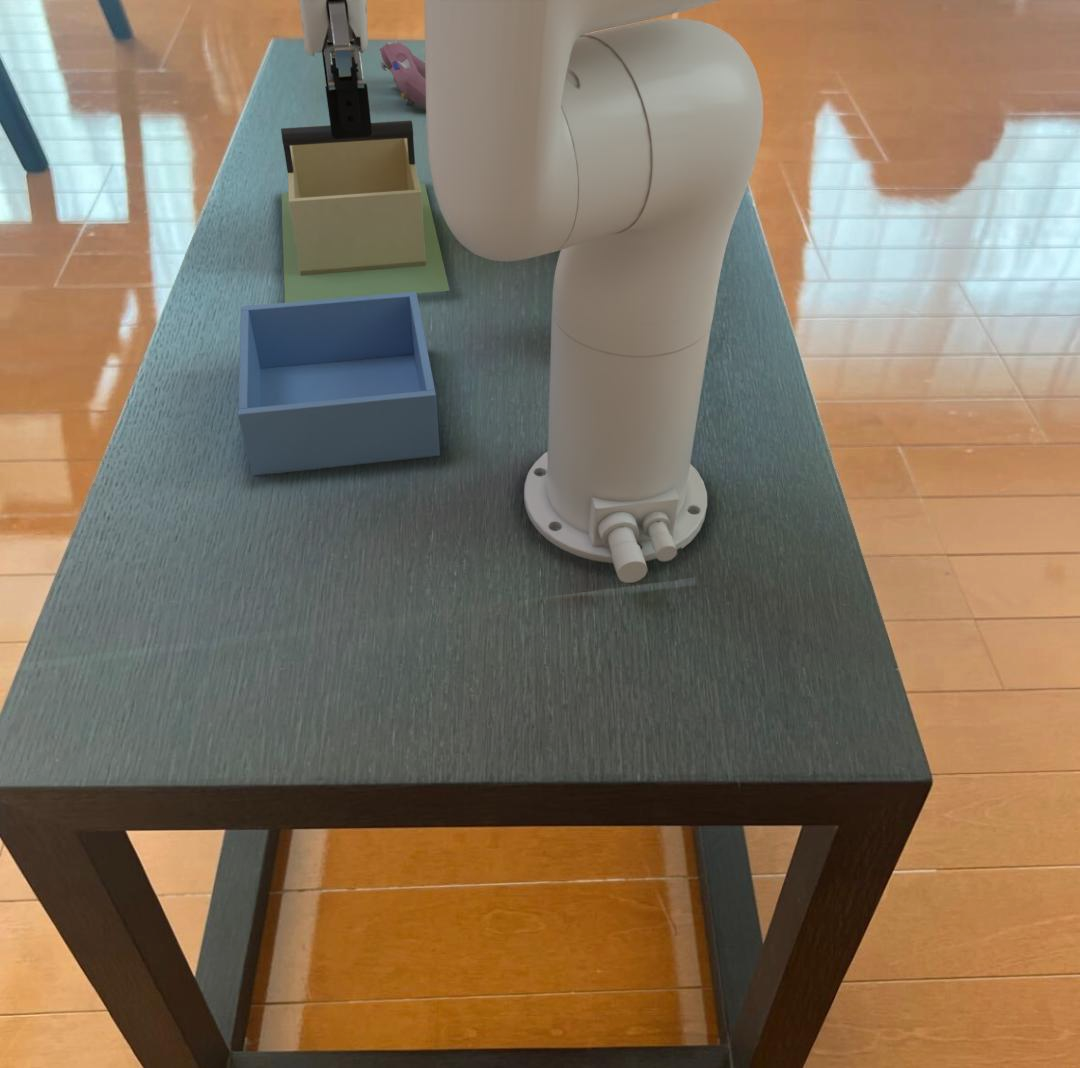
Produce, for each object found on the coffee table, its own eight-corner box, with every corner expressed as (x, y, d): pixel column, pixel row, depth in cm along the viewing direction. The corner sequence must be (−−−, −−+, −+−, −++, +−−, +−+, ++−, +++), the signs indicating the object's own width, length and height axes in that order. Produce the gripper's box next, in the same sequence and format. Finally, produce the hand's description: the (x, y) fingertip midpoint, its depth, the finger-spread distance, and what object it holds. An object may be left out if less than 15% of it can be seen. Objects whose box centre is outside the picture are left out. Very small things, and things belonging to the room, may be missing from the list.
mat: (450, 296, 93) (449, 290, 92) (285, 310, 91) (284, 304, 90) (425, 188, 107) (424, 182, 106) (282, 198, 105) (281, 192, 104)
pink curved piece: (398, 94, 126) (366, 42, 121) (431, 73, 126) (400, 19, 121) (416, 129, 120) (384, 75, 115) (451, 107, 119) (420, 52, 114)
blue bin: (440, 461, 77) (436, 394, 73) (253, 481, 75) (238, 414, 71) (421, 355, 86) (416, 291, 82) (254, 371, 85) (240, 306, 80)
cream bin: (426, 265, 95) (418, 149, 88) (300, 275, 94) (281, 158, 86) (413, 206, 103) (405, 94, 95) (297, 214, 101) (280, 102, 94)
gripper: (268, -148, 83) (300, 76, 95) (268, -89, 71) (306, 159, 83) (365, -151, 85) (385, 71, 96) (382, -94, 72) (403, 152, 84)
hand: (348, 112), depth 90 cm, fingers open, 9 cm apart
